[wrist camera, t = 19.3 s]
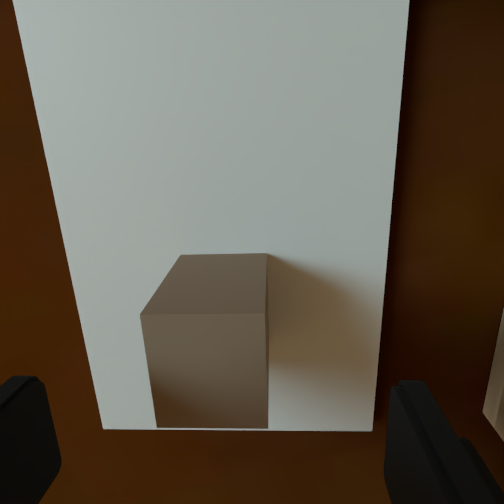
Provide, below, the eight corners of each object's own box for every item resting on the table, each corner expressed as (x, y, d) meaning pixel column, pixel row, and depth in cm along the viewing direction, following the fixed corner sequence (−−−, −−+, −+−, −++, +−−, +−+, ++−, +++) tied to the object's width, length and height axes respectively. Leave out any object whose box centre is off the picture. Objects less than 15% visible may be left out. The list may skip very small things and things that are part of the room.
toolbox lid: (364, 408, 19) (409, 543, 13) (115, 407, 20) (45, 534, 14) (407, -153, 12) (553, -446, 6) (13, -121, 13) (-231, -351, 6)
